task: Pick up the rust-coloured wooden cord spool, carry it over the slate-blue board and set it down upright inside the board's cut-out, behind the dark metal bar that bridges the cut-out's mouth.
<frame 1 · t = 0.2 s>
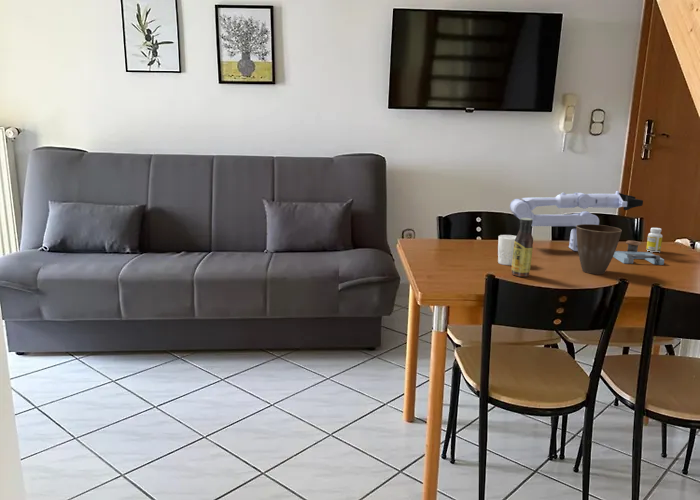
hand: (638, 201, 248), 21 cm above the table, tool horizontal, fingers open, 7 cm apart
spool: (631, 254, 248), on the table
hook bar: (642, 263, 233), on the table
plant pot: (593, 272, 218), on the table
sauce bottle: (520, 275, 210), on the table
supplement bottle: (652, 252, 255), on the table
white cup: (507, 263, 227), on the table
notched board: (635, 259, 239), on the table
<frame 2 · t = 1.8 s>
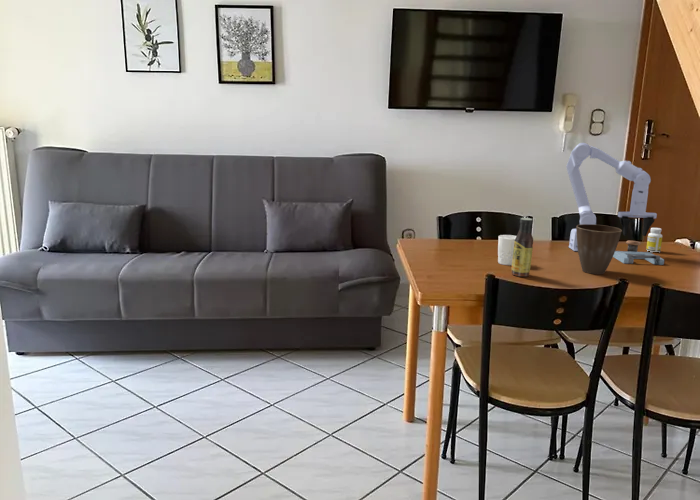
hand: (634, 235, 246), 8 cm above the table, tool pointing down, fingers open, 7 cm apart
nothing on the table moved.
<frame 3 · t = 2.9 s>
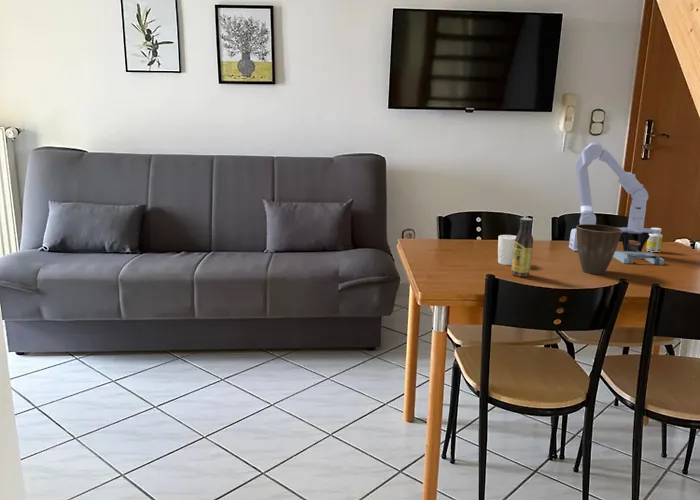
hand: (632, 250, 247), 2 cm above the table, tool pointing down, fingers closed on spool, 5 cm apart
spool: (631, 254, 248), on the table, touching gripper
everything else where it was.
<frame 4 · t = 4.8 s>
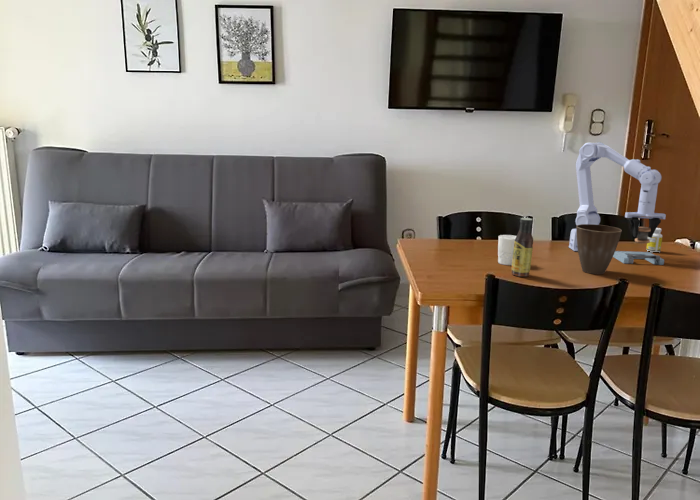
hand: (642, 236, 236), 9 cm above the table, tool pointing down, fingers closed on spool, 5 cm apart
spool: (642, 241, 236), point 7 cm above the table, touching gripper
everything else where it was.
when the fingers open (3 cm above the table, at t = 6.6 s): spool drops 1 cm, resting in notched board.
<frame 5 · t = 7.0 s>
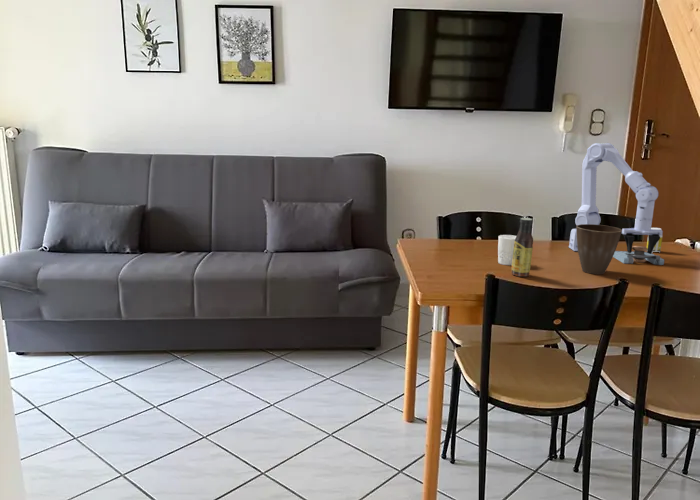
hand: (639, 252, 236), 3 cm above the table, tool pointing down, fingers open, 7 cm apart
spool: (638, 260, 237), resting in notched board
everything else where it was.
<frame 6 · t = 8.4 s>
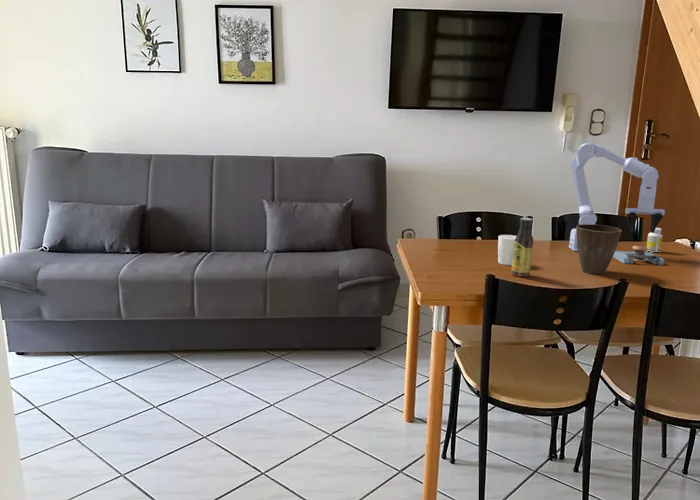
hand: (642, 232, 243), 10 cm above the table, tool pointing down, fingers open, 7 cm apart
nothing on the table moved.
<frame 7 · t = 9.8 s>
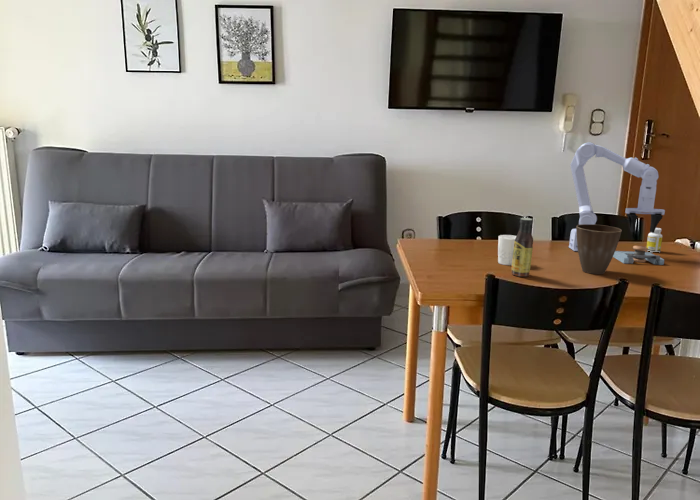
hand: (642, 231, 243), 10 cm above the table, tool pointing down, fingers open, 7 cm apart
nothing on the table moved.
at the end: spool inside the target area (0.3 cm from its centre), resting in notched board; spool tilted 2°; the gripper is holding nothing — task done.
